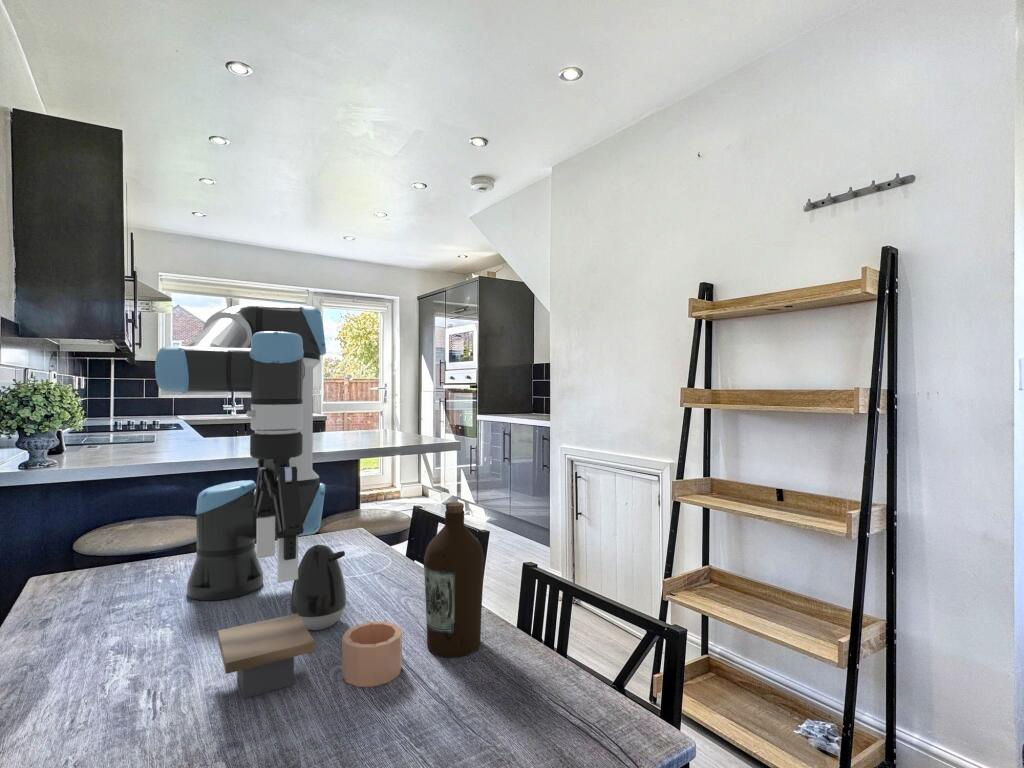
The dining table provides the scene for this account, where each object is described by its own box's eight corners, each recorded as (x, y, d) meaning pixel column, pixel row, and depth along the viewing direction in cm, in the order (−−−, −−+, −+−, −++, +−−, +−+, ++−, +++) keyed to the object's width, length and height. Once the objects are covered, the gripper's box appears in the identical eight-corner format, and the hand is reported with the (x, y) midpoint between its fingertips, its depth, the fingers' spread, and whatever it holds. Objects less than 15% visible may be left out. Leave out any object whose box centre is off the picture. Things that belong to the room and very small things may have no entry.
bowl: (336, 666, 89) (336, 629, 89) (389, 652, 94) (389, 617, 94) (352, 692, 82) (353, 652, 82) (409, 675, 87) (409, 637, 87)
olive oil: (451, 626, 105) (452, 495, 104) (495, 641, 98) (496, 502, 98) (410, 647, 96) (411, 505, 96) (456, 666, 90) (457, 514, 90)
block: (237, 677, 86) (237, 642, 86) (284, 664, 90) (284, 631, 90) (243, 699, 80) (243, 661, 80) (293, 684, 84) (293, 649, 84)
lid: (217, 639, 87) (217, 630, 87) (297, 622, 93) (297, 613, 93) (225, 673, 77) (225, 663, 77) (314, 651, 83) (314, 641, 83)
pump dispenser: (329, 639, 99) (330, 555, 99) (278, 633, 101) (278, 551, 101) (356, 615, 109) (357, 539, 109) (309, 611, 111) (309, 536, 111)
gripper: (234, 427, 93) (234, 552, 93) (270, 439, 73) (269, 598, 73) (281, 425, 98) (280, 544, 98) (327, 436, 78) (326, 586, 78)
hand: (275, 568), depth 85 cm, fingers open, 13 cm apart
